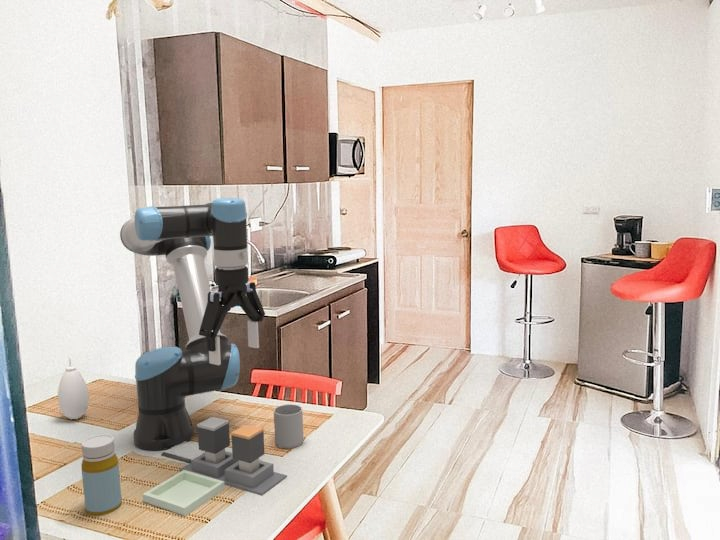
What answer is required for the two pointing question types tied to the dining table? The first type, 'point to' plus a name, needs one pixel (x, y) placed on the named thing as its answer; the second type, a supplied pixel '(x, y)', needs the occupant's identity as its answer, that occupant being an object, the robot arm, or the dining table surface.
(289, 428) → the cup
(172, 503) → the parts tray
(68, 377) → the white air blower
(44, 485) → the dining table surface
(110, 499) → the bottle
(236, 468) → the strip
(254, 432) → the plug
